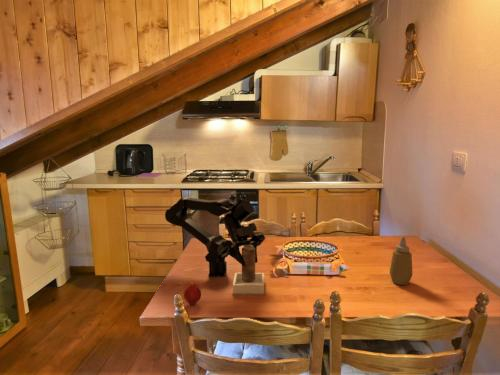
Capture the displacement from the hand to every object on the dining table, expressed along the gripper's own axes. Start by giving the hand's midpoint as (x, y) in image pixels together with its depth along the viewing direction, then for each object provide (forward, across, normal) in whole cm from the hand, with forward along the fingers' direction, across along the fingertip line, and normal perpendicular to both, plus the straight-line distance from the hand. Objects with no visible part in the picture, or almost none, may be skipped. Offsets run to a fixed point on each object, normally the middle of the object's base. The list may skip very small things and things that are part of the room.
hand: (250, 264), depth 135 cm
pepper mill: (+4, 0, +6) cm, 7 cm away
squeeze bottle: (+27, +49, -14) cm, 58 cm away
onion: (+6, -23, +8) cm, 25 cm away
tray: (+6, 0, +8) cm, 10 cm away
